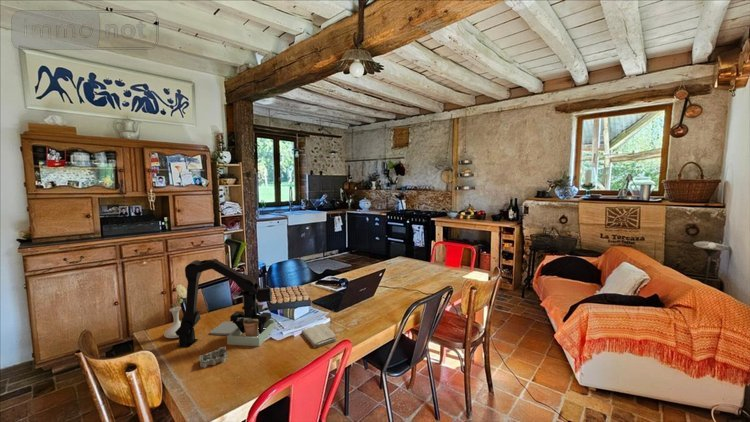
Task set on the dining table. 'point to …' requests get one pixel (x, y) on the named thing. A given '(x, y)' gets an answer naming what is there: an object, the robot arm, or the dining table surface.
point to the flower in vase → (176, 313)
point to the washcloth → (319, 335)
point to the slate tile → (224, 329)
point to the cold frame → (236, 339)
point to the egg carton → (213, 354)
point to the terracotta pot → (251, 327)
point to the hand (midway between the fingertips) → (252, 333)
